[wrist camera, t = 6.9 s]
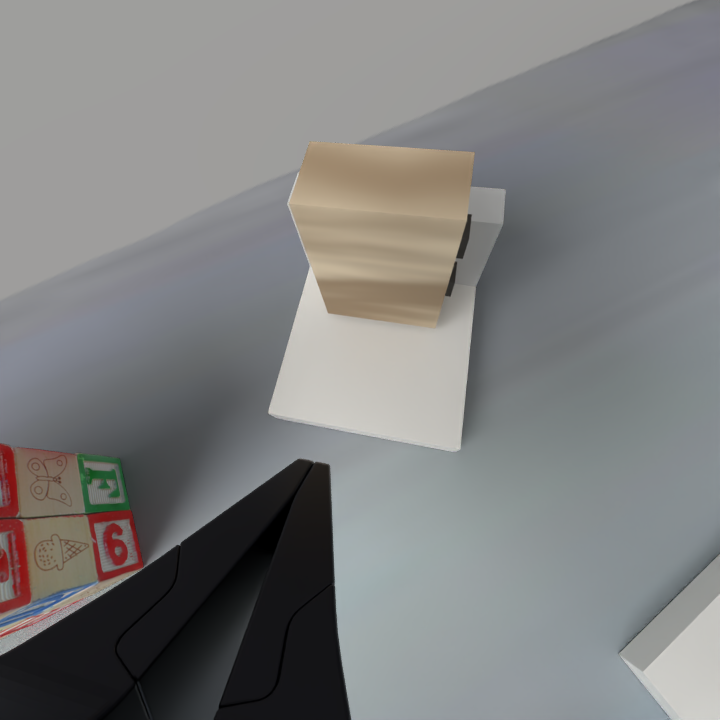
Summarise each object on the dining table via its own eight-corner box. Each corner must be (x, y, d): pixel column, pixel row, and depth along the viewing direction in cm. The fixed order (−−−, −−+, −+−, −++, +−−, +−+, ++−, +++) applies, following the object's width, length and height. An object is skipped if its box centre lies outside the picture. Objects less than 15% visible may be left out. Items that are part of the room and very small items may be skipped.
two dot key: (442, 329, 18) (479, 221, 11) (328, 313, 19) (288, 203, 12) (448, 281, 19) (486, 152, 12) (339, 268, 20) (310, 141, 13)
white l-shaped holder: (454, 452, 18) (488, 435, 12) (276, 418, 19) (225, 388, 13) (473, 269, 22) (505, 185, 16) (322, 252, 23) (298, 169, 17)
